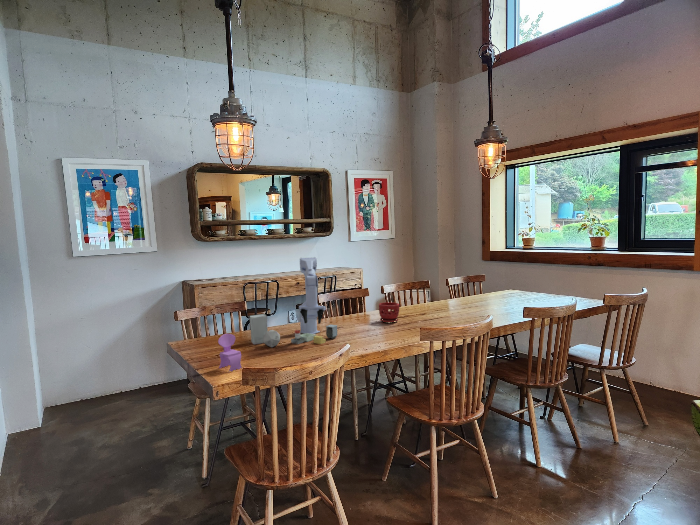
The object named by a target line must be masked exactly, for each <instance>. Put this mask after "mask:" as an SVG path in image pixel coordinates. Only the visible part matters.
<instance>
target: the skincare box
mask: <svg viewBox="0 0 700 525" xmlns="http://www.w3.org/2000/svg"><path fill="white" fill-rule="evenodd" d="M249 325H250V326H249V327H250V328H249V329H250V341H251V343H252V344H253V345H259V344H265V343H264V342H263V336H264V335H265V333H266V332H267V331H269V330H268V316H267V315H266V314H265V313H261V314H255V315H254V314H253V315H249Z"/></svg>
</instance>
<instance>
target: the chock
mask: <svg viewBox="0 0 700 525" xmlns="http://www.w3.org/2000/svg"><path fill="white" fill-rule="evenodd" d="M313 337H314V340H313V343H314V344H318V345H322V344H325V343H326V342H327V340H326V338H324V336H321V335H316V336H313Z"/></svg>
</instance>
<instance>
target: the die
mask: <svg viewBox="0 0 700 525" xmlns="http://www.w3.org/2000/svg"><path fill="white" fill-rule="evenodd" d="M263 342H264V343H263V344H265V345H266V346H267V347H270V348H275V347H277V345H278V344H279V343H280V342H281V334H280V333H279V332H278V331H277V330H274V329H270V330H268V331H267V332H266V333H265V335H264V336H263Z"/></svg>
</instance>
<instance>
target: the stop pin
mask: <svg viewBox="0 0 700 525" xmlns="http://www.w3.org/2000/svg"><path fill="white" fill-rule="evenodd" d="M300 332H301V329H295V330H294V338H295V340H300V335H301V333H300Z"/></svg>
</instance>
